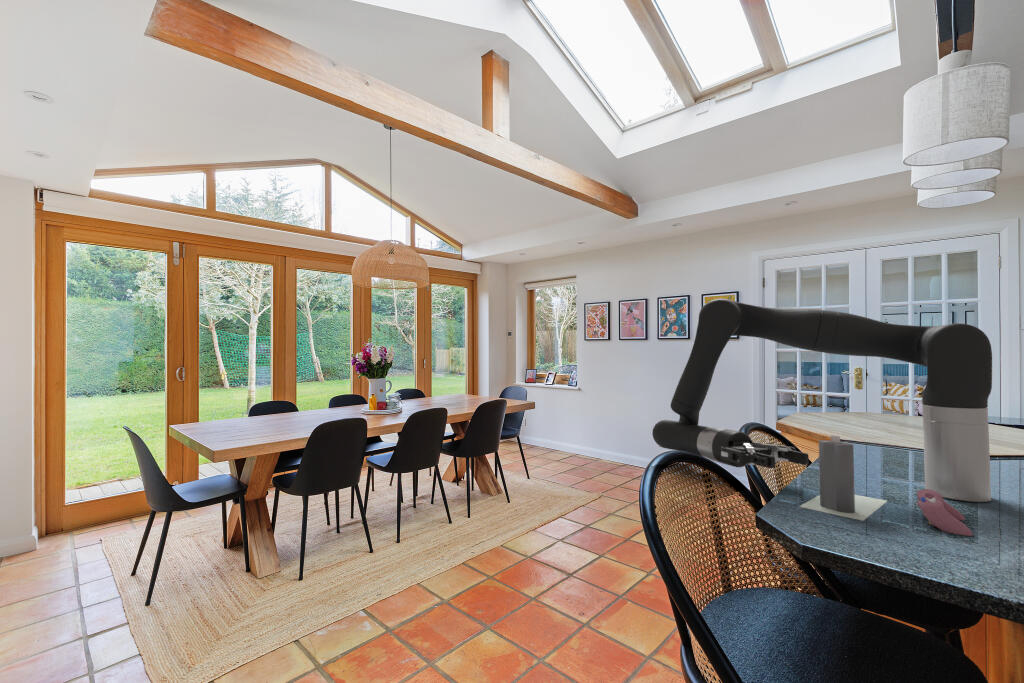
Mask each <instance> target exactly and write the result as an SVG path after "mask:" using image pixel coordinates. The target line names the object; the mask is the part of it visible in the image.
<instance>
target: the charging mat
mask: <svg viewBox="0 0 1024 683" xmlns="http://www.w3.org/2000/svg"><path fill="white" fill-rule="evenodd" d="M887 502H888V500H885V499H880V498H875V497H869V496H863V495H858V494H855V513H843V512H838V511H835V510H832V509H828V508H825V507H822V506H821V505H820V494H819V495H817V496H816V497H814V498H811V499H809V500H808V501H806V502H804V503H803V504H801V505H799V506H798V507H799V508H804V509H808V510H811V511H816V512H820V513H821V512H822V513H826V514H832V515H834V516H835V515H836V516H838V517H844V518H848V519H855V520H858V521H862V522H864V521H866V519H867V518H869V517H870V516H871V515H873V514H874V513H875V512H876V511H878V510H879V509H880V508H881V507H882V506H884V505H885V504H886V503H887Z"/></svg>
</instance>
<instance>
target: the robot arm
mask: <svg viewBox="0 0 1024 683" xmlns="http://www.w3.org/2000/svg"><path fill="white" fill-rule="evenodd" d="M697 322H698V323H697V328H696V333H695V336H694V337H695V338H694V341H693V345H692V348H691V352H690V354H689V357H688V360H687V362H686V365H685V366H684V369H683V372H682V374H681V376H680V378H679V381H678V384H677V385H676V388H675V391H674V393H673V396H672V397H671V398H672V399H671V402H670V409H671V410H672V411H673V412H674V413H675V414H677V415H679V419H678V421H676V420H670V419H662V420H660V421H658V422H657V423H655V425H654V426H653V427H652V434H651V435H652V438H653V440H654V442H655V443H656V444H657V445H658V446H659V447H661V448H663V449H667V450H673V451H680V452H684V453H685V452H686V453H689V454H692V453H693V455H694V454H695V455H694V456H697V455H698V456H699V457H702V458H705V459H708V460H710V461H712V462H716V463H720V464H723V465H727V466H731V467H735V468H743V467H745V466H747V465H750V466H759V467H764V468H768V469H775V467H776V463H779V461H780V462H787V463H794V464H798V465H803V466H806V465H809V462H810V461H809V460H810V458H809V454H808V453H807V452H803V451H797V450H796V447H793V446H789V445H788V446H787V445H782V444H777V443H772V442H768V443H762V442H760V441H753V440H752V439H751V436H749V435H748V434H747V433H745V432H744V431H738V430H733V429H727V428H721V427H710V426H704V425H699V420H700V411H701V409H702V407H703V404H704V402H705V400H706V397H707V394H708V392H709V389H710V386H711V382H712V380H713V375H714V372H715V369H716V366H717V364H718V361H719V360H720V357H721V354H722V353H723V351H724V349H725V348H726V346H727V344H728V343H729V341H730V339H731V337H732V336H734V337H736V336H737V337H750V338H752V337H753V338H759V339H763V340H769V341H771V342H775V343H778V344H782V345H785V346H789V347H793V348H796V349H801V350H806V351H811V352H818V353H824V354H831V355H841V356H854V357H855V356H856V357H877V358H886V359H892V360H897V361H900V362H901V361H902V362H906V363H910V364H914V365H918V366H922V367H926V372H927V373H926V378H927V379H926V385H925V387H924V388H923V391H922V392H921V403H922V406H921V408H922V428H923V429H922V430H923V431H922V432H923V433H922V434H923V435H922V436H923V458H924V459H923V462H924V467H923V468H924V489H929V490H931V489H932V490H933V491H936V492H938V493H939V494H940V495H941V496H942V497H943V498H946V499H951V500H955V501H956V500H958V501H965V502H975V503H976V502H977V503H985V502H990V501H992V488H991V487H992V486H991V485H992V484H991V483H992V482H991V477H992V476H991V457H990V456H991V455H990V454H991V453H990V432H989V428H990V426H989V408H988V407H989V406H988V403H989V402H988V400H989V397H990V395H991V392H992V388H993V387H992V386H993V352H992V344H991V341H990V339H989V337H988V335H986V333H985V332H984V331H983V330H981V329H980V328H979V327H977V326H974V325H971V324H967V323H960V322H959V323H957V322H956V323H949V324H943V325H934V326H933V325H931V326H930V325H910V324H895V323H894V324H893V323H889V322H884V321H880V320H876V319H873V318H870V317H866V316H862V315H858V314H852V313H849V312H848V313H847V312H843V311H834V310H826V309H817V308H800V307H767V306H766V307H765V306H759V305H753V304H748V303H744V302H739V301H735V300H731V299H729V298H720V297H719V298H715V299H712V300H710V301H708V302H706V303H705V304H704V305H703V306H702V307H701V309H700V311H699V313H698V321H697ZM698 456H697V457H698Z"/></svg>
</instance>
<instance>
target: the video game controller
mask: <svg viewBox="0 0 1024 683" xmlns="http://www.w3.org/2000/svg"><path fill="white" fill-rule="evenodd" d="M915 494H916V496H917V500H915V505H916V506H917V507H918V508H919V509H920V511H921V513H922V514H923V516H924V517H925V518H926V519H927V520H928V524H929V525H931V526H932V527H936V528H938V529H939V530H940V531H941V532H942V531H943V532H946V533H951V534H954V535H955V534H956V535H961V536H966V537H967V536H968V537H973V533H972V530H971V529H970V528H969V527H968V526H967V525H965V523H963V522H962V521H965V517H964V515H963V514H962V512H960V511H959V510H958V509H957V508H955V507H953V506H952V505H951V504H949V503H948V502H947V501H945V500H944V497H942V496H941V495H940V494H939V493H938V492H936V491H933V490H932V489H931V490H929V489H925V488H924V489H923V488H922V489H919V490H916V492H915Z"/></svg>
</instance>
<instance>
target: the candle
mask: <svg viewBox="0 0 1024 683" xmlns="http://www.w3.org/2000/svg"><path fill="white" fill-rule="evenodd" d="M854 452H855V451H854V444H853V443H849V442H842V441H841V436H840V435H834V434H831V435H830V440H825V439H821V440H818V470H819V471H818V474H819V475H818V476H819V495H820V505H821V506H822V507H825V508H828V509H832V510H835V511H838V512H843V513H855V495H856V492H855V464H854V463H855V462H854V461H855V460H854V454H855V453H854Z"/></svg>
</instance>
